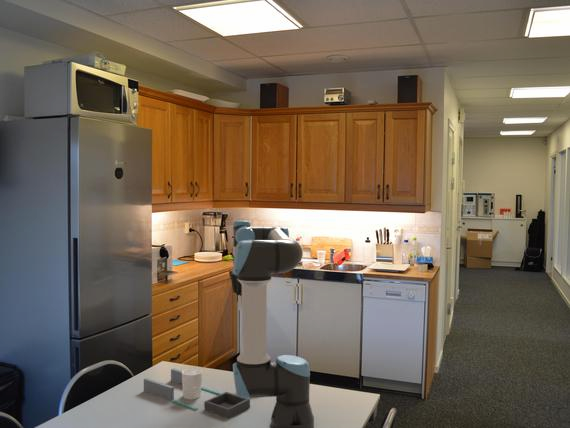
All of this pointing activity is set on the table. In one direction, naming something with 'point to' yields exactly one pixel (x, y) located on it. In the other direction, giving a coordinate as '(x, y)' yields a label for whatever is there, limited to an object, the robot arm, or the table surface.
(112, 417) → the table surface
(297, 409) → the robot arm
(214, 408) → the tray
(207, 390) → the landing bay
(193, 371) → the white cup
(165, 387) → the walled channel
